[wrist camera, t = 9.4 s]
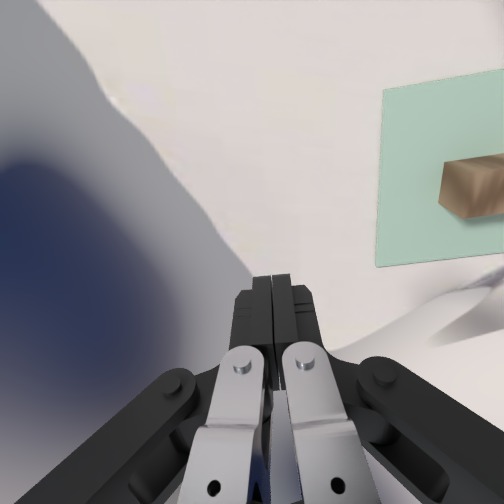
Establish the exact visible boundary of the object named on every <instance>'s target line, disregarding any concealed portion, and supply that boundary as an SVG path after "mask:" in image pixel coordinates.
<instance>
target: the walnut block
mask: <svg viewBox="0 0 504 504" xmlns="http://www.w3.org/2000/svg"><path fill="white" fill-rule="evenodd" d="M438 203H439V204H440V205H442V206H443V207H445V208H446V209H448V210H449V211H451V212H452V213H454V214H455V215H457V216H458V217H460V218H461V219H465V218H473V217H480V216H488V215H496V214H503V213H504V153H501V154H495V155H488V156H481V157H474V158H468V159H461V160H454V161H448V162H444V167H443V173H442V180H441V187H440V193H439V200H438Z"/></svg>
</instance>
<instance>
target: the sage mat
mask: <svg viewBox="0 0 504 504" xmlns="http://www.w3.org/2000/svg"><path fill="white" fill-rule="evenodd" d="M501 153H504V69H500V70H495V71H489V72H483V73H478V74H472V75H466V76H461V77H455V78H449V79H444V80H438V81H432V82H427V83H421V84H415V85H409V86H404V87H398V88H392V89H387V90H384V93H383V114H382V135H381V156H380V177H379V197H378V218H377V239H376V260H375V266H376V267H384V266H392V265H401V264H409V263H418V262H426V261H435V260H443V259H452V258H460V257H469V256H477V255H486V254H494V253H503V252H504V213H503V214H496V215H488V216H480V217H473V218H465V219H461V218H460V217H458V216H457V215H455V214H454V213H452V212H451V211H449V210H448V209H446V208H445V207H443V206H442V205H440V204H439V203H438V200H439V193H440V187H441V180H442V173H443V167H444V162H448V161H454V160H461V159H468V158H474V157H481V156H488V155H495V154H501Z"/></svg>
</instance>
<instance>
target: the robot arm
mask: <svg viewBox="0 0 504 504" xmlns="http://www.w3.org/2000/svg"><path fill="white" fill-rule="evenodd" d="M272 286H273V288H272ZM279 376H280V383H281V389H282V390H286V394H287V402H288V410H289V417H290V424H291V430H292V436H293V444H294V450H295V457H296V464H297V470H298V476H299V484H300V490H301V498H302V500H300V501H298V502H295V503H292V504H381V502H380V498H379V495H378V492H377V489H376V486H375V483H374V480H373V478H372V474H371V472H370V468H369V466H368V463H367V460H366V457H365V454H364V451H363V448H362V446H363V447H364V448H365V449H366V450H367V451H368V452H369V453H370V454H371V455H372V456H373V457H374V458H375V459H376V460H377V461H378V462H380V464H381V465H383V466H384V467H385V468H386V469H387V470H388V471H389V472H390V473H391V474H392V475H393V476H394V477H395V478H396V479H397V480H398V481H399V482H400V483H401V484H403V486H404V487H405V488H406V489H407V490H408V491H409V492H410V493H412V494H413V495H414V496H415V497H416V498H417V499H418V500H419V501H420V502H421V503H422V504H504V432H503V431H502V430H500V429H499V428H497V427H496V426H494V425H492V424H491V423H490V422H488V421H486V420H485V419H483V418H482V417H480V416H479V415H477V414H476V413H474V412H472V411H471V410H470V409H468V408H467V407H465V406H464V405H462V404H460V403H459V402H457V401H456V400H454V399H453V398H451V397H450V396H448V395H447V394H445V393H444V392H442V391H441V390H439V389H438V388H436V387H434V386H433V385H431V384H430V383H428V382H427V381H425V380H424V379H422V378H421V377H419V376H418V375H416V374H415V373H413V372H411V371H410V370H409V369H407V368H405V367H404V366H402V365H401V364H399V363H398V362H396V361H394V360H392V359H390V358H386V357H380V356H376V357H370V358H367V359H365V360H363V361H362V362H361V363H360V365H358V364H354V363H349V362H345V361H341V360H339V359H336V358H335V357H333V356H332V355H330V354H329V353H328V352H327V351H326V349H325V348H324V346H323V343H322V339H321V335H320V330H319V326H318V321H317V316H316V312H315V307H314V303H313V298H312V293H311V292H310V291H309V289H308V288H307V287H306V286H305V285H296V286H291V279H290V274H279V275H272V280H271V275H269V276H259V277H253V285H252V290H242V291H241V292H240V293H239V295H238V296H237V298H236V299H235V306H234V313H233V321H232V329H231V337H230V345H229V351H228V352H227V353H226V354H225V355H224V357H223V358H222V360H221V363H220V364H219V365H218V366H216V367H215V368H213V369H211V370H209V371H206V372H203V373H200V374H198V375H195V376H194V375H193V374H192V372H190V371H189V370H187V369H184V368H176V369H172V370H169V371H166V372H165V373H163V374H162V375H160V376H159V377H158V378H157V379H156V380H155V381H153V382H152V383H151V384H150V385H149V386H148V387H147V388H145V389H144V390H143V391H142V392H141V393H140V394H139V395H137V396H136V397H135V398H134V399H133V400H132V401H131V402H129V403H128V404H127V405H126V406H125V407H124V408H123V409H121V410H120V411H119V412H118V413H117V414H116V415H115V416H113V417H112V418H111V419H110V420H109V421H108V422H107V423H105V424H104V425H103V426H102V427H101V428H100V429H99V430H97V431H96V432H95V433H94V434H93V435H92V436H91V437H90V438H88V439H87V440H86V441H85V442H84V443H83V444H82V445H80V446H79V447H78V448H77V449H76V450H75V451H74V452H72V453H71V454H70V455H69V456H68V457H67V458H66V459H64V460H63V461H62V462H61V463H60V464H59V465H58V466H56V467H55V468H54V469H53V470H52V471H51V472H50V473H49V474H47V475H46V476H45V477H44V478H43V479H42V480H41V481H40V482H38V483H37V484H36V485H35V486H34V487H33V488H31V489H30V490H29V491H28V492H27V493H26V494H24V496H22V497H21V498H20V499H19V500H18V501H16V503H14V504H164V503H165V502H166V501H167V499H168V498H169V497H170V496H171V495H172V493H173V492H174V491H175V490H176V489H177V487H178V486H179V485H180V483H182V481H183V483H182V487H181V490H180V494H179V498H178V502H177V504H271V485H270V469H271V447H272V428H273V391H277V390H280V389H279Z"/></svg>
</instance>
